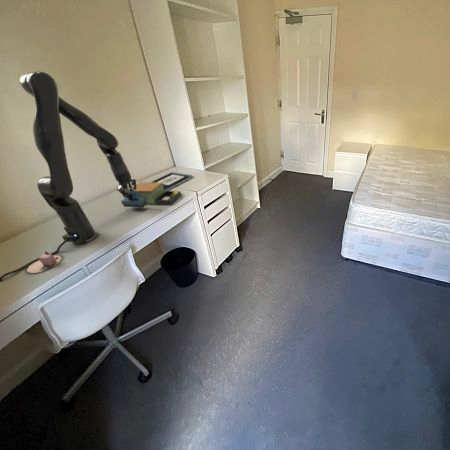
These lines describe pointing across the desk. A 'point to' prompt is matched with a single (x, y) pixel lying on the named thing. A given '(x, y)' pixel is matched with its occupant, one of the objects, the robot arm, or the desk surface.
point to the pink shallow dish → (44, 263)
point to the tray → (167, 194)
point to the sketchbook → (172, 180)
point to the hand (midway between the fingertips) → (132, 198)
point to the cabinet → (150, 191)
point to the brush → (134, 200)
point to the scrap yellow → (174, 193)
